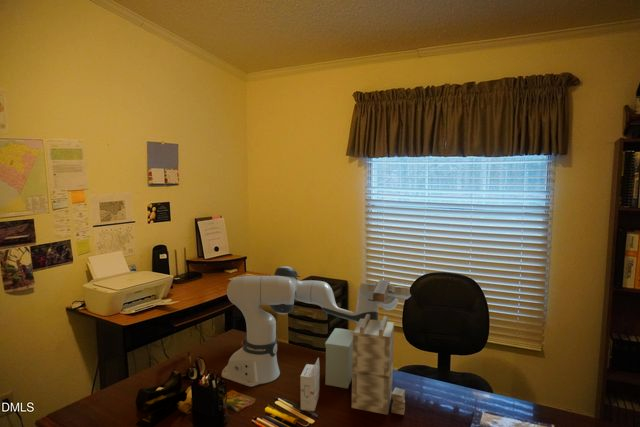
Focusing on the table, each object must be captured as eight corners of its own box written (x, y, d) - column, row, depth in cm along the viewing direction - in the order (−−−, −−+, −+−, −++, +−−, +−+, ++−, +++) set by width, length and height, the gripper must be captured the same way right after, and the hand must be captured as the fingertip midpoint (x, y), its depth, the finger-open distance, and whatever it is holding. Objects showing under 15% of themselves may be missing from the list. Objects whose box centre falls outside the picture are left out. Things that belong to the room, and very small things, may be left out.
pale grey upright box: (324, 384, 135) (325, 343, 134) (334, 365, 149) (335, 327, 148) (348, 389, 132) (348, 346, 131) (356, 369, 147) (357, 330, 145)
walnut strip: (372, 300, 132) (373, 292, 132) (379, 287, 149) (379, 280, 149) (384, 301, 131) (384, 293, 130) (389, 288, 148) (389, 280, 148)
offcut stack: (391, 412, 119) (391, 395, 118) (392, 403, 124) (393, 386, 123) (404, 415, 118) (405, 397, 117) (405, 406, 123) (406, 389, 122)
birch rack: (351, 407, 121) (353, 326, 119) (358, 387, 134) (360, 313, 131) (387, 414, 118) (390, 331, 116) (391, 392, 130) (394, 316, 128)
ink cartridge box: (305, 395, 128) (306, 355, 127) (319, 397, 127) (320, 356, 126) (299, 410, 120) (299, 367, 119) (314, 412, 119) (314, 368, 118)
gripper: (410, 304, 151) (409, 296, 139) (362, 299, 157) (357, 291, 145) (411, 289, 154) (410, 280, 142) (363, 285, 160) (358, 276, 148)
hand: (383, 286), depth 144 cm, fingers closed on walnut strip, 4 cm apart
